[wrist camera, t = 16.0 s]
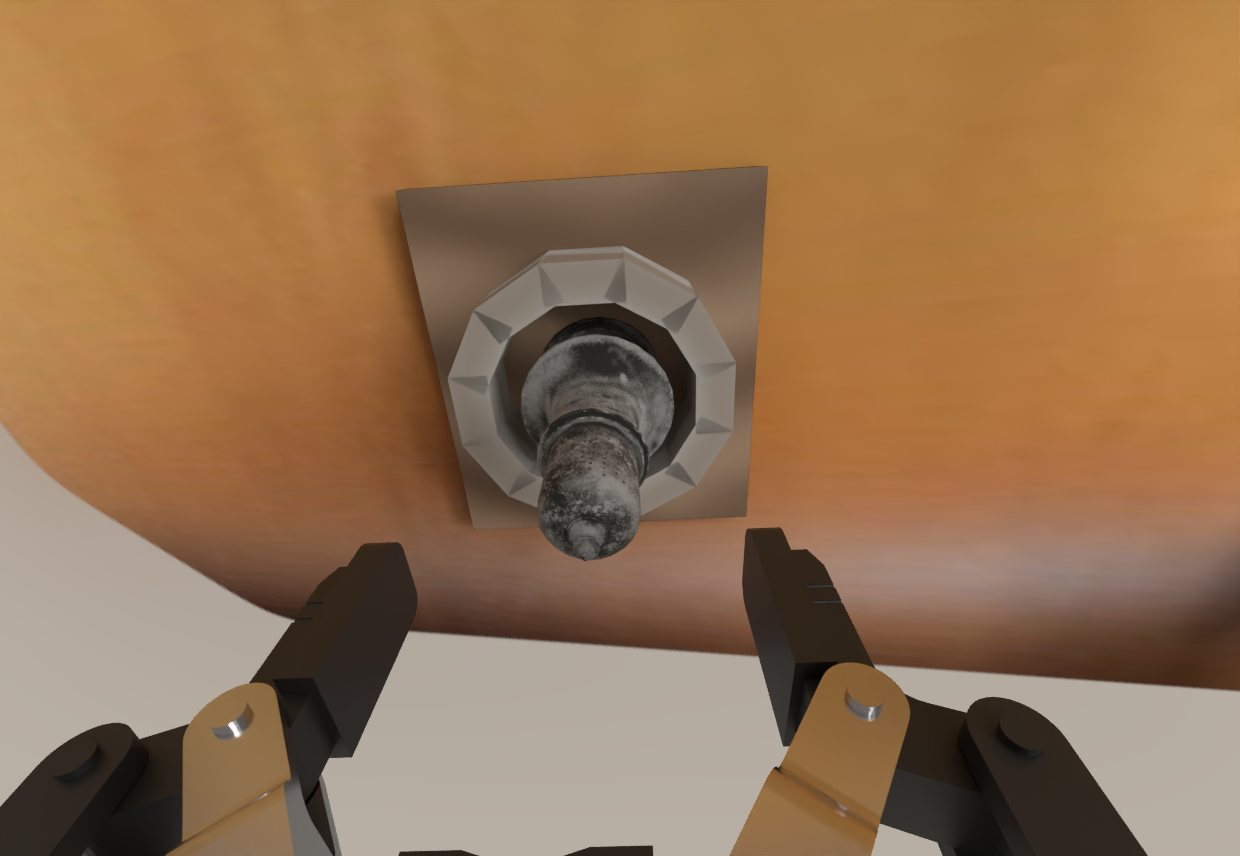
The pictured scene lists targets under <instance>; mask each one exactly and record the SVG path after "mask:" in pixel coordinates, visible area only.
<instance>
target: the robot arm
mask: <svg viewBox="0 0 1240 856" xmlns="http://www.w3.org/2000/svg"><path fill="white" fill-rule="evenodd" d="M742 586H743V597H744V603H745V608H746V611H747V615H748V619H749V622H750V626H751V630H752V634H753V637H754V641H755V645H756V648H757V652H758V656H759V659H760V663H761V667H762V670H763V674H764V678H765V681H766V685H767V688H768V692H769V696H770V700H771V703H772V707H773V711H774V714H775V718H776V722H777V725H778V729H779V733H780V736H781V740H782V744H783V746H790V747H789V749H788V751H787V753H786V756H785V758H784V760H783V762H782V763H781V765H780V767H779V768H777V767H774V768H773V770H772V771H771V772H770V774H769V776H768V777H767V779H766V781H765V783H764V785H763V787H762V789H761V791H760V794H759V796H758V798H757V800H756V802H755V804H754V806H753V808H752V810H751V812H750V814H749V816H748V819H747V820H746V822H745V825H744V827H743V829H742V831H741V833H740V835H739V837H738V839H737V841H736V843H735V845H734V847H733V849H732V851H731V854H730V856H871V853H872V850H873V846H874V843H875V838H876V835H877V830H878V826H879V823H880V824H884V825H886V826H890V827H892V828H896V829H899V830H901V831H904V832H907V833H911V834H914V835H917V836H920V837H923V838H926V839H929V840H932V841H935V842H937V843H938V845H939V848H940V850H941V852H942V855H943V856H1147V854H1146V853H1145V851H1144V850H1143V848H1142V847H1141V845H1140V844H1139V843H1138V841H1137V840H1136V838H1135V837H1134V835H1133V834H1132V832H1131V831H1130V830H1129V828H1128V827H1127V825H1126V824H1125V822H1124V821H1123V820H1122V818H1121V817H1120V815H1119V814H1118V812H1117V811H1116V810H1115V808H1114V807H1113V805H1112V804H1111V802H1110V801H1109V799H1108V798H1107V797H1106V795H1105V794H1104V792H1103V791H1102V789H1101V788H1100V787H1099V785H1098V784H1097V782H1096V781H1095V779H1094V778H1093V776H1092V775H1091V774H1090V772H1089V771H1088V769H1087V768H1086V766H1085V765H1084V763H1083V762H1082V761H1081V759H1080V758H1079V756H1078V755H1077V754H1076V752H1075V750H1074V749H1073V748H1072V746H1071V745H1070V743H1069V742H1068V740H1067V739H1066V738H1065V736H1064V735H1063V734H1062V733H1061V732H1060V730H1059V729H1058V728H1056V726H1055V725H1054V724H1052V723H1051V722H1050V721H1049V720H1048V719H1047V718H1045V717H1044V716H1042V715H1041V714H1040V713H1038V712H1037V711H1035V710H1033V709H1031V708H1029V707H1027V706H1025V705H1023V704H1021V703H1019V702H1016V701H1013V700H1010V699H1005V698H999V697H986V698H982V699H979V700H977V701H975V702H974V703H973V704H972V705H971V706H970V708H969V709H968V712H967V713H965V712H961V711H957V710H953V709H950V708H946V707H942V706H937V705H934V704H930V703H926V702H923V701H919V700H917V699H914V698H912V697H910V696H908V695H906V694H904V693H903V691H902V690H901V688H900V687H899V686H898V685H897V684H896V683H895V682H894V681H893V680H892V679H891V678H890V677H888V676H887V675H885V674H884V673H883V672H881V671H879V670H877V669H875V667H874V665H873V664H872V662H871V660H870V658H869V656H868V654H867V652H866V650H865V648H864V645H863V643H862V641H861V639H860V637H859V635H858V633H857V631H856V629H855V627H854V625H853V623H852V621H851V619H850V617H849V615H848V613H847V611H846V609H845V607H844V605H843V604H842V603H841V599H840V597H839V595H838V593H837V591H836V588H834V587H833V582H832V580H831V578H830V576H829V574H828V572H827V570H826V568H825V566H824V565H823V564H822V563H821V562H820V561H819V560H818V559H817V558H816V557H815V556H813V555H812V554H811V553H810V552H809V551H808V550H807V549H803V550H791V549H790V546H789V544H788V542H787V539H786V537H785V535H784V532H783V530H782V529H781V528H779V527H777V528H753V529H747V530H746V535H745V549H744V563H743V578H742ZM416 610H417V591H416V588H415V584H414V581H413V578H412V575H411V572H410V569H409V566H408V562H407V559H406V556H405V553H404V550H403V547H402V546H401V544H400V543H397V542H392V543H368V544H364V545H362V546H361V547H360V548H359V550H358V551H357V553H356V554H355V556H354V557H353V559H352V560H351V562H350V563H349V565H348V566H347V567H339V568H338V569H337V570H336V571H334V572H333V573H332V574H331V575H330V576H328V577H327V578H326V579H325V580H323V581H322V582H321V583H320V584H319V585H318V586H317V588H316V589H315V591H314V592H313V593H312V595H311V596H310V598H309V599H308V601H307V602H306V606H305V607H303V608H302V609H301V611H300V612H299V613H298V615H297V616H296V618H295V622H294V623H291V625H290V626H289V628H288V629H287V630H286V632H285V633H284V635H283V636H282V638H281V639H280V640H279V642H278V643H277V645H276V646H275V648H274V649H273V650H272V652H271V653H270V655H269V656H268V657H267V659H266V660H265V662H264V663H263V665H262V666H261V668H260V669H259V670H258V671H257V673H256V674H255V676H254V677H253V679H252V680H251V681H250V683H249V684H244V685H241V686H238V687H235V688H233V689H231V690H229V691H227V692H225V693H223V694H221V695H220V696H218V697H217V698H215V699H214V700H212V701H211V702H210V703H208V704H207V705H206V706H205V707H204V708H203V709H202V710H201V711H200V712H199V713H198V714H197V715H196V716H195V717H194V718H193V720H192V721H191V723H190V724H188V725H184V726H181V727H178V728H175V729H171V730H168V731H165V732H162V733H159V734H155V735H152V736H149V737H145V738H142V739H139V738H138V737H137V736H136V734H135V733H134V732H133V731H132V730H131V728H130V727H129V726H128V725H126V724H121V723H110V724H105V725H101V726H97V727H95V728H92V729H90V730H87V731H86V732H83V733H81V734H79V735H77V736H75V737H74V738H72V739H70V740H69V741H67V742H66V743H64V744H63V745H61V746H60V747H58V748H57V749H56V750H54V751H53V752H52V753H51V754H50V755H48V756H47V757H46V758H45V759H44V760H43V761H42V762H41V763H40V764H39V765H38V766H37V767H36V768H35V769H34V770H33V771H32V772H31V773H30V775H29V776H28V777H27V778H26V779H25V780H24V781H23V782H22V783H21V785H20V786H19V787H18V788H17V789H16V790H15V791H14V792H13V793H12V794H11V796H10V797H9V798H8V799H7V800H6V801H5V802H4V803H3V805H2V806H1V807H0V856H342V855H341V850H340V847H339V842H338V838H337V834H336V829H335V825H334V821H333V816H332V812H331V808H330V803H329V799H328V795H327V790H326V786H325V782H324V779H323V777H322V775H321V773H322V771H323V769H324V767H325V765H326V763H327V761H328V759H329V758H343V757H352V756H353V754H354V751H355V749H356V747H357V745H358V743H359V740H360V738H361V736H362V733H363V731H364V729H365V727H366V725H367V722H368V720H369V718H370V716H371V714H372V711H373V709H374V707H375V705H376V702H377V700H378V698H379V695H380V693H381V691H382V689H383V687H384V685H385V682H386V680H387V678H388V676H389V673H390V671H391V669H392V667H393V664H394V662H395V660H396V658H397V656H398V653H399V651H400V649H401V647H402V644H403V642H404V640H405V638H406V635H407V633H408V631H409V629H410V627H411V624H412V622H413V620H414V617H415V614H416ZM399 856H478V855H475V854H471V853H468V852H465V851H462V850H454V851H453V850H450V851H414V852H413V851H411V852H400V853H399ZM565 856H653V846H616V847H589V848H586V849H583V850H580V851H577V852H574V853H571V854H568V855H565Z"/></svg>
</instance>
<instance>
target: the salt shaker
mask: <svg viewBox="0 0 1240 856" xmlns="http://www.w3.org/2000/svg"><path fill="white" fill-rule="evenodd" d="M521 413H522V418H523V422H524V426H525V429H526V430H527V432H528V434H529V436H530V437H531V439H532V441H533V443H534V444H535V445H536V446H537V447H538V450H537V463H538V467H539V471H540V474H541V476H542V478H543V481H542V485H541V489H540V494H539V498H538V506H537V515H538V520H539V524H540V528H541V530H542V532H543V534H544V535H545V537H546V539H547V540H548V541H549V542H550V543H551V544H552V545H553V546H554V547H556V548H557V549H558V550H560V551H562V552H563V553H565V554H567V555H569V556H572V557H575V558H578V559H582V560H584V561H587V560H596V559H603V558H606V557H609V556H612V555H613V554H615V553H617V552H619V551H620V550H622V549H623V548H625V547H626V546H627V545H628V544H629V543H630V542H631V541H632V539H633V537H634V535H635V533H636V532H637V529H638V526H639V521H640V515H641V507H640V491H639V488H640V487H641V486H642V484H643V482H644V480H645V478H646V476H647V474H648V468H649V462H650V460H649V457H650V456H651V455H652V454H653V453H654V452H655V451H656V450H657V449H658V448H659V447H660V446H661V444H662V443H663V441H664V440H665V438H666V436H667V434H668V432H669V430H670V428H671V424H672V419H673V414H674V401H673V391H672V388H671V385H670V383H669V380H668V378H667V375H666V373H665V371H664V370H663V369H662V368H661V366H660V365H659V361H658V359H657V356H656V354H655V351H654V349H653V347H652V345H651V344H650V343H649V341H648V340H647V339H646V338H645V336H644V335H643V334H642V333H640V332H639V331H638V330H636V329H635V328H634V327H632V326H631V325H629V324H627V323H624V322H622V321H619V320H617V319H612V318H604V317H594V318H586V319H582V320H579V321H577V322H574V323H572V324H570V325H568V326H566V327H565V328H564V329H562V330H561V331H560V332H559V333H557V334H556V335H555V336H554V338H553V339H552V341H551V342H550V343H549V345H548V346H547V348H546V350H545V353H544V354H543V355H542V356H540V357H539V359H538V360H537V361H536V363H535V364H534V366H533V367H532V368H531V370H530V371H529V372H528V375H527V377H526V380H525V383H524V386H523V389H522V392H521Z"/></svg>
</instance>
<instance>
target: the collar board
mask: <svg viewBox="0 0 1240 856" xmlns="http://www.w3.org/2000/svg"><path fill="white" fill-rule="evenodd" d="M767 173H768V166H753V167H737V168H722V169H707V170H691V171H676V172H661V173H645V174H630V175H615V176H600V177H584V178H569V179H554V180H538V181H523V182H508V183H492V184H477V185H462V186H447V187H431V188H416V189H404V190H396V194H397V199H398V203H399V207H400V212H401V216H402V220H403V225H404V229H405V233H406V238H407V242H408V246H409V250H410V255H411V259H412V263H413V268H414V272H415V276H416V281H417V285H418V289H419V294H420V298H421V302H422V307H423V311H424V315H425V320H426V324H427V328H428V333H429V337H430V341H431V346H432V350H433V354H434V359H435V363H436V367H437V372H438V376H439V380H440V385H441V389H442V393H443V398H444V402H445V406H446V411H447V415H448V419H449V424H450V428H451V432H452V437H453V441H454V445H455V450H456V454H457V458H458V462H459V467H460V471H461V475H462V480H463V484H464V488H465V493H466V497H467V501H468V506H469V510H470V514H471V519H472V523H473V527H474V530H476V529H497V528H518V527H539V526H540V524H539V520H538V515H537V506H538V498H539V494H540V489H541V485H542V481H543V478H542V476H541V474H540V471H539V467H538V463H537V450H538V447H537V446H536V445H535V444H534V443H533V441H532V439H531V437H530V436H529V434H528V432H527V430H526V429H525V426H524V422H523V418H522V413H521V392H522V389H523V386H524V383H525V380H526V377H527V375H528V372H529V371H530V370H531V368H532V367H533V366H534V364H535V363H536V361H537V360H538V359H539V357H540V356H542V355H543V354H544V353H545V350H546V348H547V346H548V345H549V343H550V342H551V341H552V339H553V338H554V336H555V335H556V334H557V333H559V332H560V331H561V330H562V329H564V328H565V327H566V326H568V325H570V324H572V323H574V322H577V321H579V320H582V319H586V318H594V317H604V318H612V319H617V320H619V321H622V322H624V323H627V324H629V325H631V326H632V327H634V328H635V329H636V330H638V331H639V332H640V333H642V334H643V335H644V336H645V338H646V339H647V340H648V341H649V343H650V344H651V345H652V347H653V349H654V351H655V354H656V356H657V359H658V361H659V365H660V366H661V368H662V369H663V370H664V371H665V373H666V375H667V378H668V380H669V383H670V385H671V388H672V391H673V401H674V414H673V419H672V424H671V428H670V430H669V432H668V434H667V436H666V438H665V440H664V441H663V443H662V444H661V446H660V447H659V448H658V449H657V450H656V451H655V452H654V453H653V454H652V455H651V456H650V457H649V460H650V462H649V468H648V474H647V476H646V478H645V480H644V482H643V484H642V486H641V487H640V488H639V491H640V507H641V515H640V521H639V522H642V521H663V520H684V519H705V518H725V517H746V511H747V495H748V479H749V463H750V447H751V431H752V415H753V399H754V383H755V366H756V350H757V334H758V318H759V302H760V286H761V270H762V254H763V238H764V222H765V206H766V190H767Z"/></svg>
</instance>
